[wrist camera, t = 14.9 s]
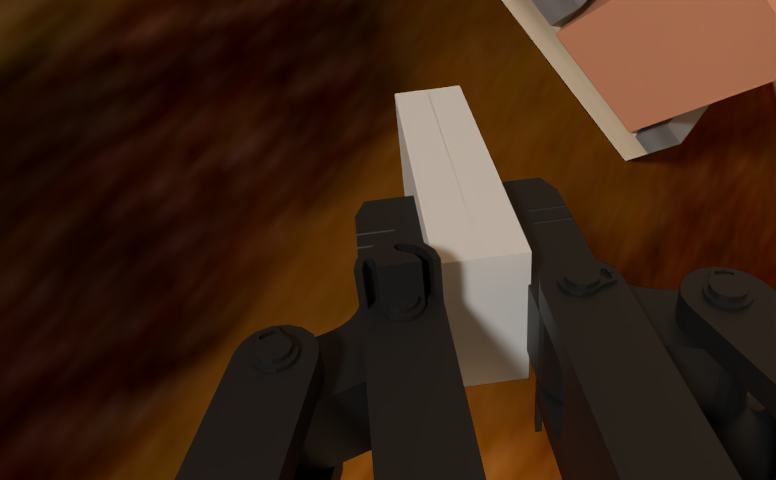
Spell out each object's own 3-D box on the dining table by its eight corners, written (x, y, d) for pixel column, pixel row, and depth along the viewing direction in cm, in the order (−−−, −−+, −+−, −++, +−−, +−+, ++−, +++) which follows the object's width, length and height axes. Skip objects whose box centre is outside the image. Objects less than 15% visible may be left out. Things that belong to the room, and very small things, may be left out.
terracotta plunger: (629, 132, 34) (812, 67, 25) (555, 34, 32) (722, -67, 24) (694, 50, 36) (877, -32, 28) (628, -43, 35) (799, -157, 27)
